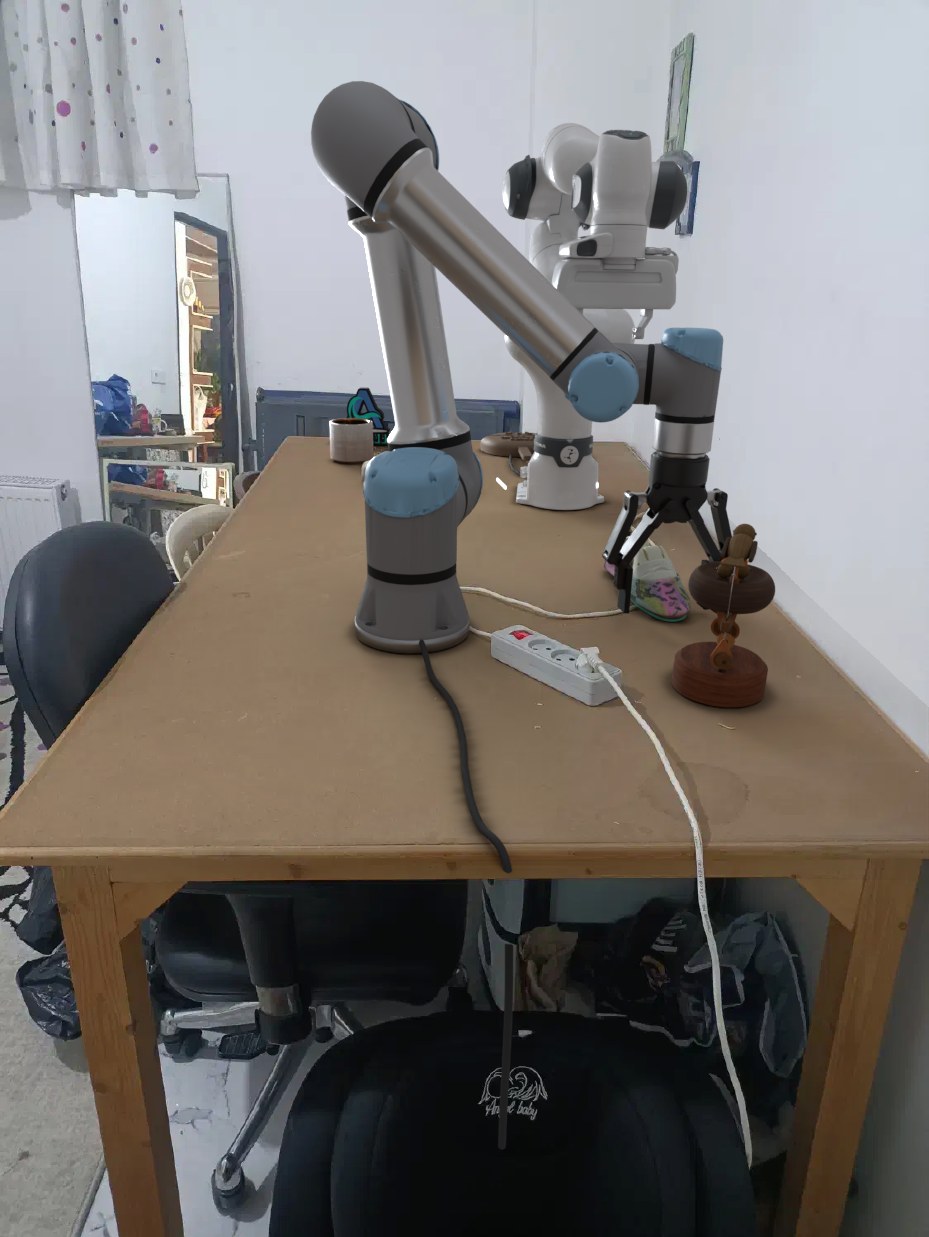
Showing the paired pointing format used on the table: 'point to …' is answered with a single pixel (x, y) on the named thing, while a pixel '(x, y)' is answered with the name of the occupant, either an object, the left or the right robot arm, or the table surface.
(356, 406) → the decorative sign
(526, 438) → the ice cream bar
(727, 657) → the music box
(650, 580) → the colourful slip-on shoe
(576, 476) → the right robot arm
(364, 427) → the planter
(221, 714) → the table surface
